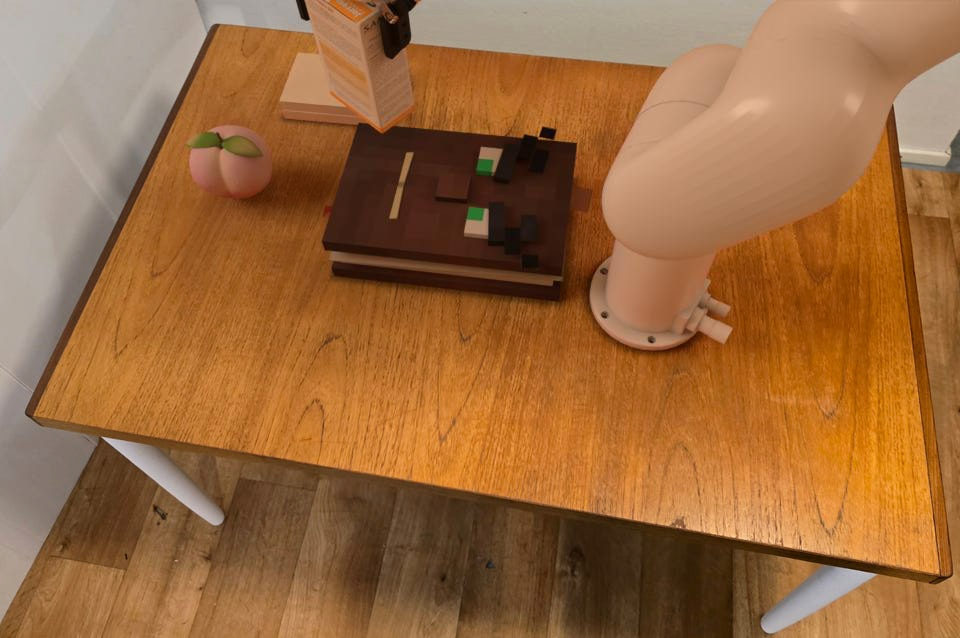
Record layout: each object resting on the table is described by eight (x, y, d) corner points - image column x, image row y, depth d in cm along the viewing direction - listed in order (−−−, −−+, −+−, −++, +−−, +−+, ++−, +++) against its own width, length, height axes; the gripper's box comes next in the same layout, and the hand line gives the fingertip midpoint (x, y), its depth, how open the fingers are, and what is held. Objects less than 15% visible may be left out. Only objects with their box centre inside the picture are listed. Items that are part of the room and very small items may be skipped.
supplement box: (417, 109, 74) (402, -3, 63) (382, 136, 73) (359, 26, 61) (363, 69, 77) (339, -45, 66) (328, 94, 76) (297, -19, 64)
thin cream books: (392, 77, 99) (389, 59, 96) (378, 127, 94) (374, 109, 92) (303, 69, 100) (297, 51, 97) (285, 118, 96) (278, 101, 93)
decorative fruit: (290, 164, 92) (267, 104, 83) (276, 217, 88) (251, 160, 79) (215, 162, 92) (185, 102, 84) (199, 215, 88) (166, 158, 80)
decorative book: (339, 107, 86) (600, 131, 83) (351, 152, 92) (593, 176, 90) (294, 243, 77) (586, 275, 74) (311, 282, 83) (579, 313, 80)
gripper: (187, -180, 53) (256, 20, 68) (383, -107, 48) (410, 92, 63) (256, -228, 56) (307, -25, 71) (447, -163, 51) (458, 40, 66)
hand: (355, 29), depth 67 cm, fingers closed on supplement box, 9 cm apart
